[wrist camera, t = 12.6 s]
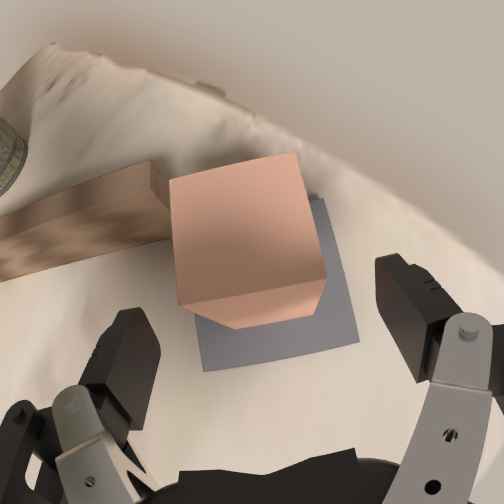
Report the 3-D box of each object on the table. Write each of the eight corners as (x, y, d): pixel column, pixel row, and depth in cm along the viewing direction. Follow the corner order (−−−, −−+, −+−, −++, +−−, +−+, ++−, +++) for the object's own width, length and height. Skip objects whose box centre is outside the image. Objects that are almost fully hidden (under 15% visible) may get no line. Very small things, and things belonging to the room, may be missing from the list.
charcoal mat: (207, 371, 20) (203, 372, 19) (188, 233, 24) (184, 228, 23) (357, 342, 20) (360, 341, 19) (322, 204, 23) (323, 198, 22)
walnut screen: (-2, 282, 25) (-51, 263, 19) (0, 264, 26) (-48, 242, 19) (188, 233, 24) (150, 188, 17) (186, 209, 24) (150, 160, 18)
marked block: (234, 329, 20) (178, 305, 11) (223, 253, 22) (169, 176, 12) (313, 314, 20) (327, 277, 10) (296, 238, 21) (294, 148, 12)
